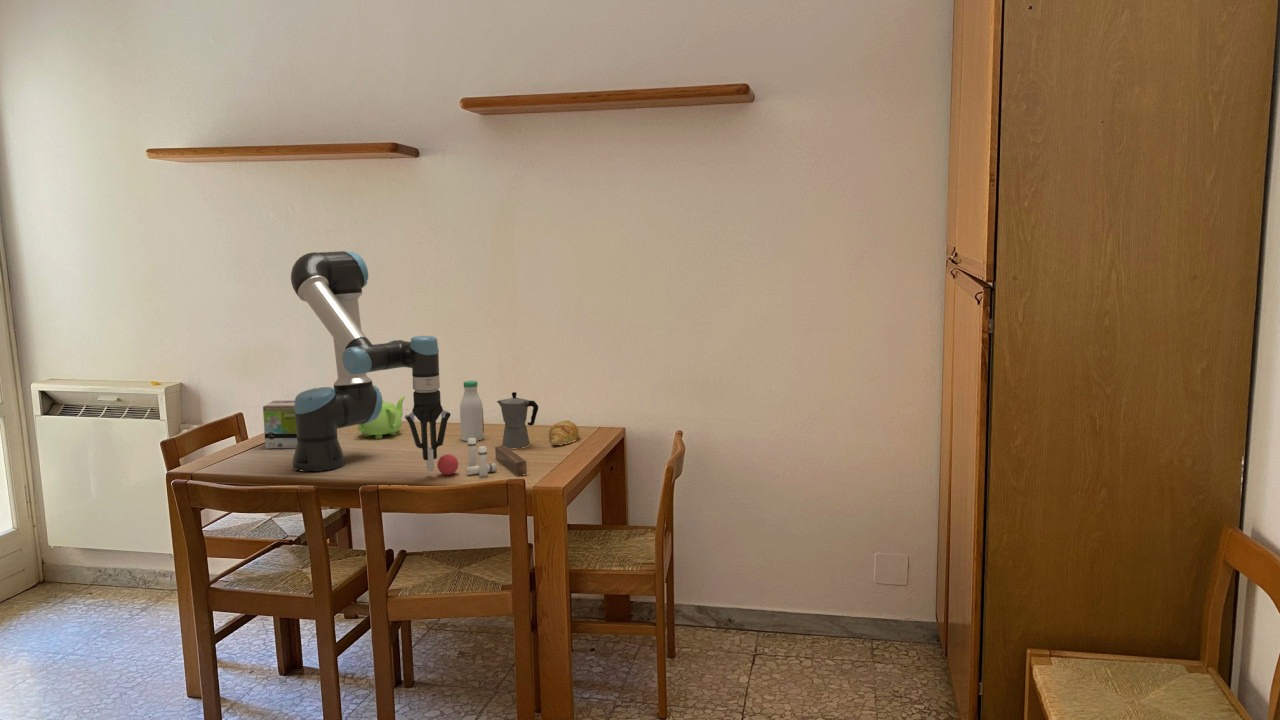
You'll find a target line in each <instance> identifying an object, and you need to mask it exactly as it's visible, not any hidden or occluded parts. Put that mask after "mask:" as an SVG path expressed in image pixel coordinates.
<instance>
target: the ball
mask: <svg viewBox="0 0 1280 720" xmlns="http://www.w3.org/2000/svg"><path fill="white" fill-rule="evenodd" d="M437 469H438V471H439V472H440V473H441V474H443V475H445V476H450V475H454V473H456V472H457V470H458V469H459V461H458V458H457V457H456V456H454V455H453V454H450V453H448V454H442V456H440V458H438V461H437Z"/></svg>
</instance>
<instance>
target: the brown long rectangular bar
mask: <svg viewBox="0 0 1280 720" xmlns="http://www.w3.org/2000/svg"><path fill="white" fill-rule="evenodd" d="M496 459H497V460H498V462H499V463H500V464H501V463H502V464H503V465H502V464H501V465H502V466H504V467H505V468H506V467H507V468H508V469H507V468H506V469H507V470H509V471H510V472H511V473H513V475H515V476H516V475H521V476H524V475H523V474H526V473H527V461H526V460H525V459H523V457H521V456H519V455H518V454H517V453H515V452H514V451H513V450H512V449H509V448H507V447H506V446H502V445H498V446H495V460H496ZM497 460H496V461H497ZM527 474H528V473H527Z"/></svg>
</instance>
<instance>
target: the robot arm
mask: <svg viewBox="0 0 1280 720" xmlns="http://www.w3.org/2000/svg"><path fill="white" fill-rule="evenodd" d="M368 280H369V270H368V267H367V264H366V261H365V260H364V258H363V257H361V255H360V254H359V253H357V252H354V251H346V250H340V251H323V252H309V253H306V254H303V255H301V256H300V257H299V258H298V259H297V260H296V261H295V262H294V264H293V266H292V269H291V273H290V282H291V286H292V289H293V290H294V293H295V294H296V295H297V296H298V298H299V299H300V300H301V301H303V302H306V303H307V304H308V306H309V307H310V308H311V310H312V311H313V312H314V313H315V315H316V316H317V317H318V319H319V321H320V322H321V323H322V324H323V326H324V327H325V328H326V330H327V331H328V333H329V334H330V335H331V337H332V338H333V348H334V355H335V363H336V373H337V379H336V381H334V383H333V387H329V386H325V387H316V388H311V389H307V390H304V391H302V392H299V393H298V394H297V395H296V397H295V398H294V400H295V408H294V411H295V418H296V432H297V446H296V448H295V451H294V454H293V459H292V461H291V463H292V469H293V468H294V469H297V470H303V471H320V472H323V471H322V470H328V471H330V470H329V469H333V470H335V469H334V468H337V469H339V468H338V467H340V468H342V467H343V465H344V464H345V465H346V458H345V454H344V451H343V450H342V447H341V445H340V442H339V439H338V429H344V428H347V427H353V426H358V425H359V424H365V423H368V422H371V421H374V420H375V419H376V418H377V417H378V415H379V414H380V412H381V409H382V400H383V396H382V392H381V391H380V388H379V387H378V386H377V385H375V384H373V380H372V378H370V377H369V376H368V375H367V373H371V372H378V371H379V372H380V371H386V370H394V369H399V368H408V369H411V371H412V372H411V373H412V374H411V376H412V390H414V391H413V394H412V395H413V408H412V410H411V411H412V412H410V413H409V414H408V415H407V414H406V415H405V416H404V419H405V420H406V421H407V423H408V424H409V425H408V426H409V427H410V428H409V429H410V431H411V434H412V438H413V440H414V445H415V447H417V448H418V449H421V450H422V459H423V460H424V461H426V470H427V471H428V472H429V473H430V472H435V463H434V462H435V461H434V460H437V458H438V454H437V453H438V450H437V449H438V447H440V446H443V444H444V440H445V435H446V430H447V424H448V421H449V419H450V417H451V413H450V412H449V411H446V410H444V408H443V406H442V404H441V402H442V401H441V391H440V390H439V389H440V388H441V385H440V383H441V382H440V381H441V379H440V359H439V358H440V357H439V351H440V350H439V345H438V343H439V342H438V338H437V337H436V336H434V335H417V336H413V337H411V339H410V341H405V340H403V339H397V340H394V339H393V340H390V341H388V342H386V343H378V344H377V343H376V344H372V342H371V341H370V340H369V338H367V336H366V335H365V333H364V332H363V330H362V325H361V323H362V322H361V316H360V306H359V299H360V297H361V296H362V295H363V288H364V287H366V285H367V284H368ZM440 416H441V419H440V424H439V428H438V429H439V430H438V436H437V420H438V418H439V417H440ZM415 418H417V420H418V421H419V422H420V432H421V433H420V434H421V440H420V437H419V433H418V430H417V427H416V424H415V422H414V421H415ZM428 423H429V432H430V433H429V435H430V446H429V445H428V444H429V443H428V442H429V441H428ZM345 465H344V466H345ZM341 466H342V467H341ZM294 469H293V470H294Z"/></svg>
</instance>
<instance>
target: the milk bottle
mask: <svg viewBox="0 0 1280 720" xmlns="http://www.w3.org/2000/svg"><path fill="white" fill-rule="evenodd" d="M463 390H464V391H463V396H462V398H461V401H460V405H459V410H460V411H459V420H460V421H459V423H460V438H461V440H462V441H463V442H468V438H476V442H479V440H480V441H482V439H483V440H484V439H485V426H484V424H485V422H484V421H485V420H484V407H483V401H482V399H481V397H480V395H479V392H478V381H477V380H465V381H463Z"/></svg>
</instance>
